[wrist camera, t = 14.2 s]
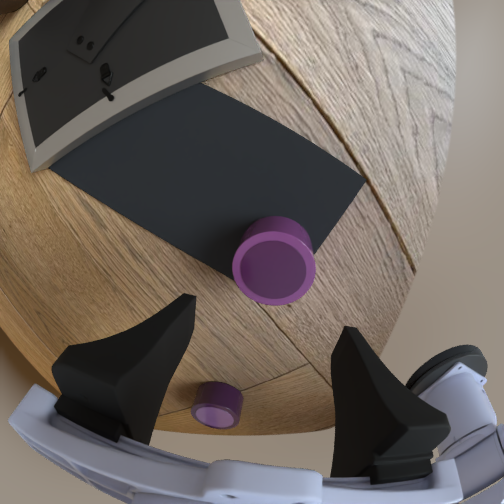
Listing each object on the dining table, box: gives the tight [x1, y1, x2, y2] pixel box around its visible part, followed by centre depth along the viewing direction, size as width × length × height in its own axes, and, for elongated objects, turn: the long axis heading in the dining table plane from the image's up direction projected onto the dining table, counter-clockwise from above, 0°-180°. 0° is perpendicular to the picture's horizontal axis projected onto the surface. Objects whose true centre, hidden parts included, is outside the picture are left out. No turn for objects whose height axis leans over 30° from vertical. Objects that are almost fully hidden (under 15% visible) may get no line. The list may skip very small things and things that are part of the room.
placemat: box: [48, 83, 366, 280], centre depth 19 cm, size 28×12×1 cm, turn 60°
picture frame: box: [9, 0, 264, 173], centre depth 14 cm, size 16×3×21 cm
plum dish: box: [232, 216, 316, 305], centre depth 20 cm, size 5×5×3 cm
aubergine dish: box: [191, 382, 243, 429], centre depth 29 cm, size 5×5×3 cm
